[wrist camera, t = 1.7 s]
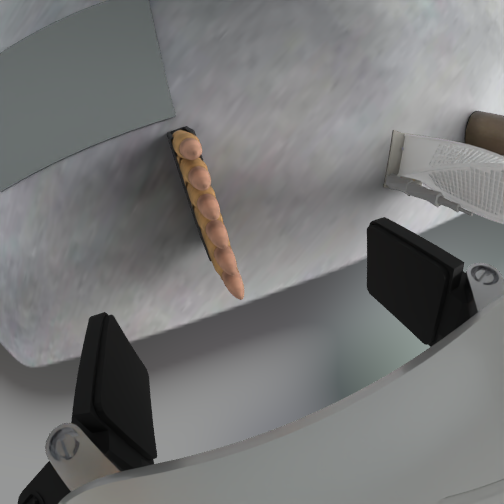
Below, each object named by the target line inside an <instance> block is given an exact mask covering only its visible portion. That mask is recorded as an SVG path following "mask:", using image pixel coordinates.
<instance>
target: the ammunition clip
mask: <svg viewBox="0 0 504 504" xmlns="http://www.w3.org/2000/svg"><path fill="white" fill-rule="evenodd" d="M167 136H168V139H169V143H170V146H171V149H172V152H173V155H174V158H175V162H176V165H177V168H178V171H179V174H180V177H181V180H182V183H183V186H184V189H185V192H186V195H187V198H188V201H189V204H190V207H191V210H192V213H193V216H194V219H195V222H196V225H197V228H198V231H199V233H200V236H201V239H202V242H203V244H204V247H205V250H206V252H207V255H208V258H209V260H210V261H212V263H213V266H214V268H215V270H216V272H217V273H218V274H219V275H220V277H221V279H222V280H223V282H224V284H225V286H226V287H227V289H228V290H229V291H230V293H231V294H232V295H233V296H235V297H236V298H238V299H240V300H242V299H243V297H244V285H243V282H242V278H241V276H240V274H239V271H238V269H237V263H236V259H235V256H234V253H233V251H232V249H231V246H230V241H229V238H228V233H227V230H226V228H225V226H224V223H223V218H222V215H221V213H220V207H219V204H218V201H217V200H216V197H215V192H214V190H213V189H212V187H211V177H210V174H209V172H208V169H207V166H206V164H205V163H204V162H203V158H202V155H201V153H202V147H201V144H200V141H199V139H198V138H197V137H196V134H195V131H194V130H192V129H190V128H188V127H187V126H186V127H183V128H180V129H177V130H174V131H171V132H168V133H167Z"/></svg>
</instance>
